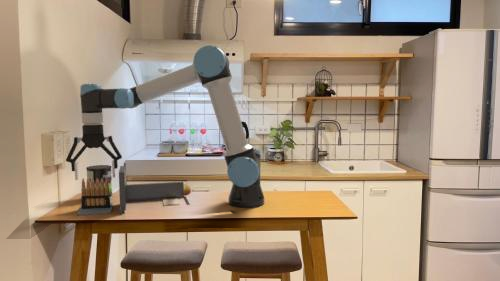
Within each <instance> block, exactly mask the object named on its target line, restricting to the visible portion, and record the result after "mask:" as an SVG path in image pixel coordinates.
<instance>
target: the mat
mask: <svg viewBox="0 0 500 281" xmlns="http://www.w3.org/2000/svg"><path fill="white" fill-rule="evenodd" d="M100 204H101V202H100ZM110 205H111V207H110V208H93V209H81V206H80V207H79V209H78V211H77V213H76V216H86V215H87V216H88V215H100V214H111V213H112V211H113V210H112V209H113V205H114V202H110Z"/></svg>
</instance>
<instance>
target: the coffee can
mask: <svg viewBox="0 0 500 281" xmlns="http://www.w3.org/2000/svg"><path fill="white" fill-rule="evenodd" d="M87 178H88V179H89V182H90V189H91V180H92V178H93V179H94V185H95V188H96V179H97V178H98V181H99V188H100V183H101V178H103V182H104V190H105V180H106V178H107V179H108V185H109V194H110V200H111V199H112V198H113V185H112V183H113V182H112V179H113V175H112V165H109V164H107V165H106V164H105V165H104V164H103V165H102V164H98V165H91V166H90V165H89V166H86V179H87ZM95 195H96V193H95Z"/></svg>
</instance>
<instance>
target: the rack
mask: <svg viewBox="0 0 500 281" xmlns="http://www.w3.org/2000/svg"><path fill="white" fill-rule="evenodd" d="M126 166H127V165H120V166H119V170H118V184H119V186H118V191H119V192H118V193H119V214H120V215H123V214H125V211H126V210H127V202H140V201H155V200H163V199H173V198H177V199H183V200H185V203H186V205H190V202H189V200H188V198H187V197H186V196H187V195H184V185H183V183H184V181H170V182H167V181H166V182H150V183H133V184H127V171H126V170H127V169H126V168H127V167H126Z"/></svg>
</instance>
